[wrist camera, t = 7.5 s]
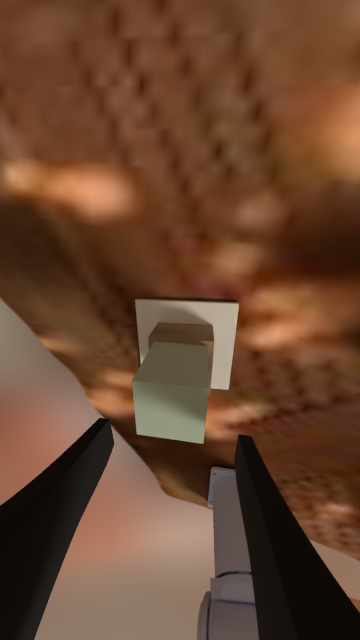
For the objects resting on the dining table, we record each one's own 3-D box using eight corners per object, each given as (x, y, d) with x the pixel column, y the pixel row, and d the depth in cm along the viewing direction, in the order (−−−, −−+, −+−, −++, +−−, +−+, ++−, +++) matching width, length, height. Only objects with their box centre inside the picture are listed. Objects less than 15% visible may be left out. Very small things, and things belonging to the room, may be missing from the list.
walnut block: (209, 371, 20) (210, 395, 17) (160, 367, 21) (151, 389, 17) (212, 325, 18) (214, 341, 15) (158, 322, 19) (148, 337, 15)
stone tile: (227, 386, 21) (228, 389, 20) (143, 379, 22) (142, 381, 22) (238, 302, 17) (239, 303, 17) (136, 298, 18) (134, 300, 18)
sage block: (203, 389, 17) (203, 443, 12) (155, 384, 17) (136, 434, 12) (207, 345, 15) (208, 389, 10) (154, 341, 15) (132, 380, 11)
